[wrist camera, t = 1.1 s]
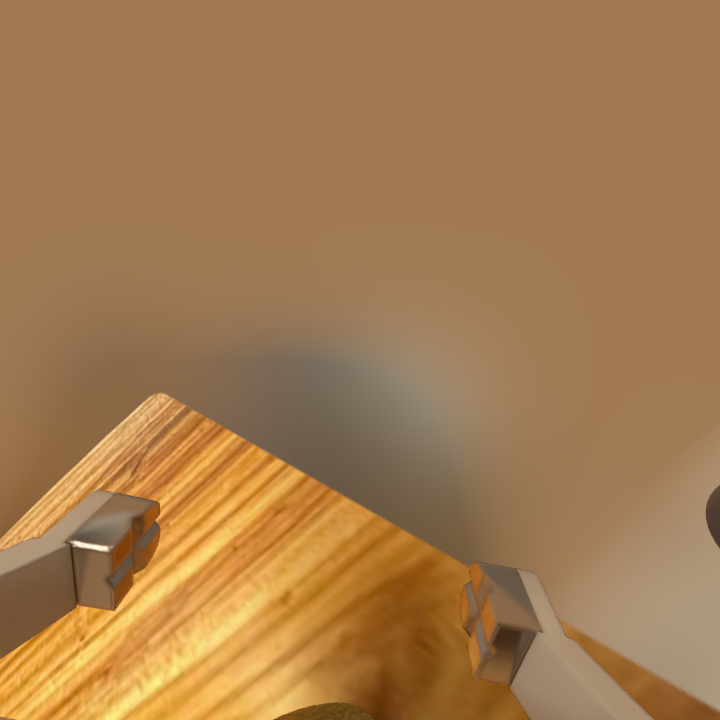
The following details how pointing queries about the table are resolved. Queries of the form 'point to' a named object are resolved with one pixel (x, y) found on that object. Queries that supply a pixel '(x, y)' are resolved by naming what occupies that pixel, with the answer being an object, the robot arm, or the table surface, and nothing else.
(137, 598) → the table surface
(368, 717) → the vegetable
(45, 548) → the robot arm
